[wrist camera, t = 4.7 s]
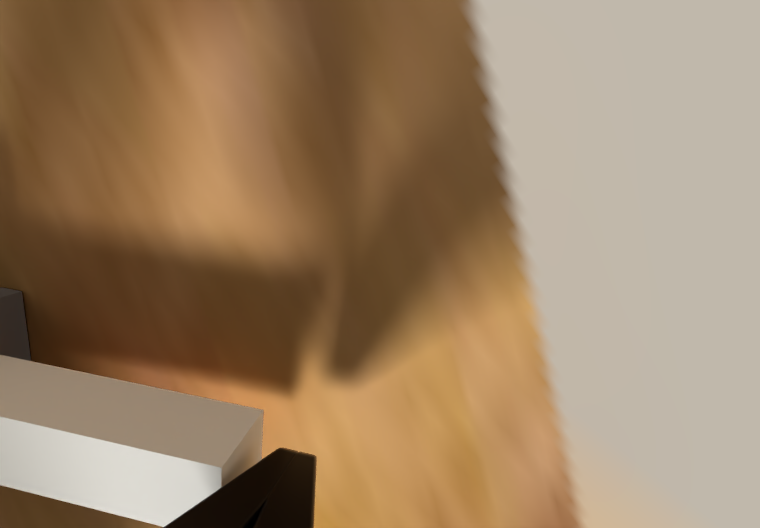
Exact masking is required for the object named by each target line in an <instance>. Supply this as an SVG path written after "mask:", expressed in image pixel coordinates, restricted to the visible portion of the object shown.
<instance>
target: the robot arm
mask: <svg viewBox="0 0 760 528" xmlns="http://www.w3.org/2000/svg"><path fill="white" fill-rule="evenodd" d="M315 482H316V456H315V455H312V454H308V453H303V452H298V451H295V450H291V449H287V448H278V449H277V450H275V451H274V452H272V453H271V454H269V455H268V456H266V457H265V458H263V459H262V460H261V461H259V462H258V463H256V464H255V465H253V466H252V467H250V468H249V469H247V470H246V471H245V472H243V473H242V474H240V475H239V476H237V477H236V478H234V479H233V480H231V481H230V482H229V483H227V484H226V485H224V486H223V487H221V488H220V489H218V490H217V491H215V492H214V493H213V494H211V495H210V496H208V497H207V498H205V499H204V500H202V501H201V502H199V503H198V504H197V505H195V506H194V507H192V508H191V509H189V510H188V511H186V512H185V513H183V514H182V515H181V516H179V517H178V518H176V519H175V520H173V521H172V522H170V523H169V524H167V525H166V526H164V527H163V528H314V506H315Z"/></svg>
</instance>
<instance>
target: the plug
mask: <svg viewBox="0 0 760 528" xmlns="http://www.w3.org/2000/svg"><path fill="white" fill-rule="evenodd" d="M263 414H264V410H261V409H257V408H252V407H247V406H242V405H238V404H233V403H228V402H223V401H218V400H214V399H209V398H204V397H199V396H195V395H190V394H185V393H180V392H176V391H171V390H166V389H161V388H156V387H152V386H147V385H142V384H137V383H133V382H128V381H123V380H118V379H114V378H109V377H104V376H99V375H95V374H90V373H85V372H80V371H75V370H71V369H66V368H61V367H56V366H52V365H47V364H42V363H37V362H33V361H31V357H30V349H29V342H28V334H27V326H26V319H25V311H24V304H23V296H22V291H18V290H12V289H7V288H2V287H0V485H2V486H6V487H10V488H14V489H17V490H21V491H25V492H29V493H33V494H37V495H41V496H45V497H49V498H53V499H57V500H60V501H64V502H68V503H72V504H76V505H80V506H84V507H88V508H92V509H96V510H100V511H103V512H107V513H111V514H115V515H119V516H123V517H127V518H131V519H135V520H139V521H143V522H146V523H150V524H154V525H158V526H162V527H164V526H166V525H167V524H169V523H170V522H172V521H173V520H175V519H176V518H178V517H179V516H181V515H182V514H183V513H185V512H186V511H188V510H189V509H191V508H192V507H194V506H195V505H197V504H198V503H199V502H201V501H202V500H204V499H205V498H207V497H208V496H210V495H211V494H213V493H214V492H215V491H217V490H218V489H220V488H221V487H223V486H224V485H226V484H227V483H229V482H230V481H231V480H233V479H234V478H236V477H237V476H239V475H240V474H242V473H243V472H245V471H246V470H247V469H249V468H250V467H252V466H253V465H255V464H256V463H258V462H259V461H261V458H262V436H263Z"/></svg>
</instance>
